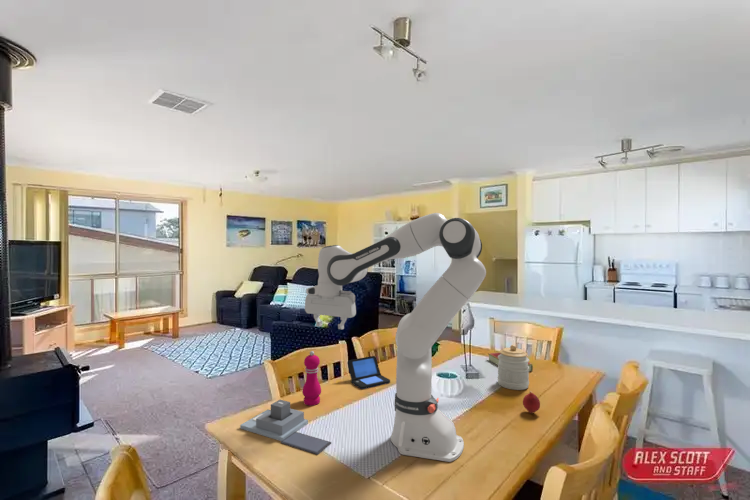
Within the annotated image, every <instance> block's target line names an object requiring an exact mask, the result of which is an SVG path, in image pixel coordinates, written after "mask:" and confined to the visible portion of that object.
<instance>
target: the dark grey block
mask: <svg viewBox="0 0 750 500" xmlns="http://www.w3.org/2000/svg"><path fill="white" fill-rule="evenodd" d="M290 409H291V402H290V401H287V400H284V399H278V400H277V401H275V402H273V403H271V404H270V410H271V418H273V419H276V420H280V421H282V420H284V419H285V418H287V417H288V416H290Z"/></svg>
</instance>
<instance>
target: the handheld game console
mask: <svg viewBox="0 0 750 500" xmlns="http://www.w3.org/2000/svg"><path fill="white" fill-rule="evenodd" d="M347 368H348V371H349V375H350V379H351V380H350V383H351V384H353V385H354V386H356V387H357V388H359V389H361V390H366V389H371V388H375V387H379V386H383V385H387V384H390V383H391V379H389V378H387V377H385V376H384V375H382V373H381V370H380V367H379V363H378V359H377V357H376V356H375V355H372V356H366V357H364V356H363V357H360V358H354V359H349V360H348V361H347Z"/></svg>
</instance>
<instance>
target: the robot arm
mask: <svg viewBox="0 0 750 500" xmlns="http://www.w3.org/2000/svg"><path fill="white" fill-rule="evenodd" d="M435 247H443V249H444V251H445V252H446V254H447V256H448V257H449V258H450V259H451V263H450V265H449V266H448V268H447V269H445V271H444V272H443V274H441V276H439V278H438V279H437V280H436V281H435V282H434V283H433V285H432V286H431V287H430V288H429V289H428V290H427V292H426V293H425V294H424V295H423V296H422V298H421V299H420V301H419V302H418V303H417V304H416V306H415V307H414V308H413V310H411V312H409V313H407V314H405V315H403V316H402V318H401V319H400V320H399V322H398V324H397V325H398V326H397V329H396V332H395V338H394V339H395V345H396V347H397V350H396V367H395V368H396V378H395V379H396V381H395V382H396V388H395V389H396V390H395V391H396V392H395V393H394V412H395V414H394V415H395V416H394V423H393V427H392V432H391V435H390V441H391V443H392V444H393V446H395V447H396V448H397V449H398V450H397V451H398V453H400V455H403V456H409V457H417V458H422V459H429V460H435V461H442V462H449V463H451V462H454V461H455V460H457V459H458V458H459V457H460V456H461V455H462V454H463V451H464V448H465V444H464V439H463V437H462V436H461V435H458V434H457V430H456V429H457V428H456V427H455V423H454V422H453V421H452V420H451V419H450V418H449V417H448V416H447V415H445V414H444V412H442V411H441V410H440V409H439V408H438V407H439V405H438V403H439V399H440V398H439V397H437V398H435V396H433V394H432V387H433V386H432V385H433V384H432V376H433V374H432V372H433V371H432V367H433V366H432V347H433V346H434V344H435V343H436V342H437V340H439V338H440V336H441V335H442V334H443V332H444V331H445V329H446V328H447V326H448V325H449V324H450V322H451V321H452V320H453V318H455V316H456V315H457V314H458V313H459V312H460V310H461V309H462V308H464V306H465V305H466V304H467V303H468V301H470V299H471V298H472V297H473V296H474V294H475V293H476V292H477V290H478V289H479V288H480V287H481V285H482V283H483V281H484V279H485V278H486V275H487V269H486V267H485V264H483V262H482V261H481V260H480V259H479V257H480V255H481V254H482V250H483V243H482V240H481V238H480V235H479V232H478V231H477V230H476V229H475V227H474V226H473V224H472V223H471V222H469V221H468V220H466V218H465V219H464V218H462V217H452V218H449V219H447V217H445V216H444V215H443V214H442V213H440V212H433V213H429V214H426V215H423V216H420V217H418V218H416V219H413V220H411V221H410V222H407V223H405V224H404V225H402V226H400V227H398V228H397V229H396V230H394V231H392V232H391V233H390V234H388V235H386V237H384V238H382V239H381V240H379V241H377V242H375V243H374V244H370V245H369V246H367V247H364V248H363V249H360V250H359V251H356V252H353V253H352V252H349V251H347V250H346V249H345V248H343V247H342V246H341V245H338V244H333V245H326V246H323V247H322V248H321V249H320V250H319V253H318V258H317V259H318V260H317V272H318V279H317V285H314V286H310V287H308V288H306V290H305V292H306V296H305V298H304V299H305V300H304V311H305V313H306V314H309V315H310V314H311V315H313V319H314V320H315V323H316V325H315V326H316V327H319V328H320V327H322V326H323V321H322V320H321V319H320V316H328V317H330V316H331V317H338V318H340V323H338V324H337V329H338V330H344V329H345V323H346V322H347V320H348V319H349V318H350V319H351V318H354V317H355V316H356V315H357V306H356V295H355V293H353V292H352V291H351V290H343V286H345V285H348V284H350V283H355V282H358V281H361V280H363V279H364V278H365V277H366V275H367V274H368V270H369V269H370V268H371V267H373V266H375V265H377V264H380V263H382V262H385V261H389V260H399V259H406V258H410V257H414V256H417V255H420V254H422V253H424V252H427V251H428V250H430V249H432V248H435Z"/></svg>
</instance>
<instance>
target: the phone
mask: <svg viewBox="0 0 750 500" xmlns="http://www.w3.org/2000/svg"><path fill="white" fill-rule="evenodd" d="M280 444H283V445H286V446H288V447H292V448H295V449H297V450H301V451H304V452H307V453H309V454H310V453H311V454H314V455H316V456H319V455H320V454H322V452H323V451H324V450H326V449H327V448H328V447H329V446H331V444H332V442H331V441H328V440H326V439H322V438H318V437H315V436H312V435H309V434H304V433H302V432H298V431H297V432H294V433H293V434H291V435H290V436H288V437H287V438H285V439H284V440H282V441H280Z"/></svg>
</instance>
